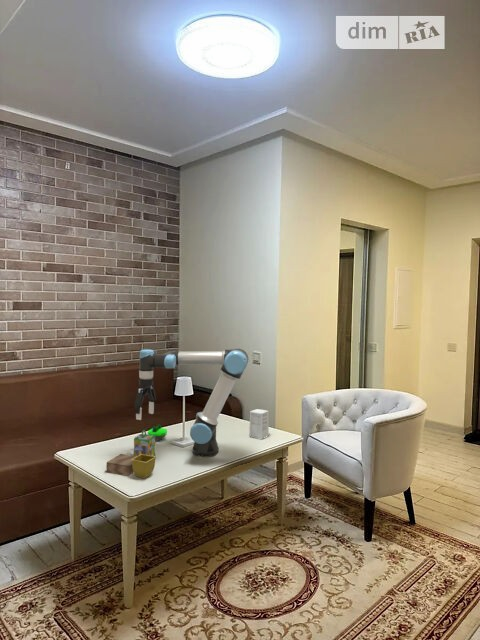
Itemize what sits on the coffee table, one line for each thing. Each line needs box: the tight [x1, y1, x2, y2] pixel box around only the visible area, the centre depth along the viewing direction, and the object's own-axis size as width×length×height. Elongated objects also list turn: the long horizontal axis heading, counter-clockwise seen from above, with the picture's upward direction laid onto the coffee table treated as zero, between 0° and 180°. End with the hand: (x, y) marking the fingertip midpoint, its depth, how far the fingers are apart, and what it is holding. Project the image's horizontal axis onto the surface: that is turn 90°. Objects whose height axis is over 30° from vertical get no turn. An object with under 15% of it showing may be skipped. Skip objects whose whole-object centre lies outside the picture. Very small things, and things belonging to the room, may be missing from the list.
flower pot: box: [132, 454, 157, 479], centre depth 218 cm, size 9×9×9 cm
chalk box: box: [133, 429, 156, 457], centre depth 243 cm, size 9×9×15 cm
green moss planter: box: [147, 423, 168, 441], centre depth 274 cm, size 12×12×11 cm
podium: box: [105, 453, 137, 477], centre depth 226 cm, size 13×13×5 cm
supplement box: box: [248, 408, 270, 440], centre depth 286 cm, size 10×9×17 cm
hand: (145, 416), depth 243 cm, fingers open, 13 cm apart
